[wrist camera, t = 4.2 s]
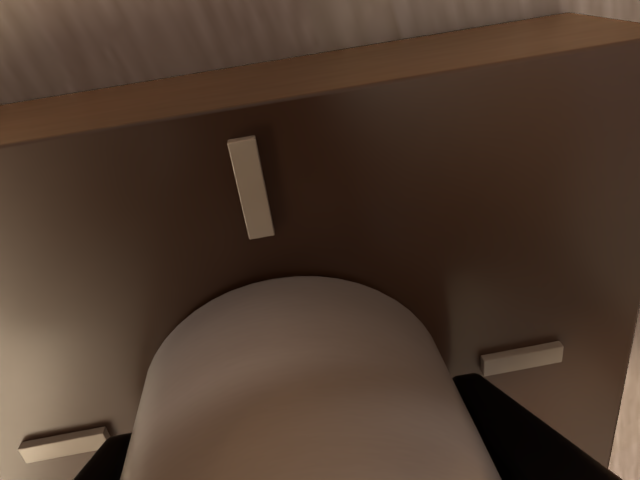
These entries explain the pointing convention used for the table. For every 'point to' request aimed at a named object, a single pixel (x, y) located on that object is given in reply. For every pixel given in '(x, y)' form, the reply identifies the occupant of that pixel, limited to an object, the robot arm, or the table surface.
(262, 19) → the table surface
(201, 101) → the panel
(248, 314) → the knob
